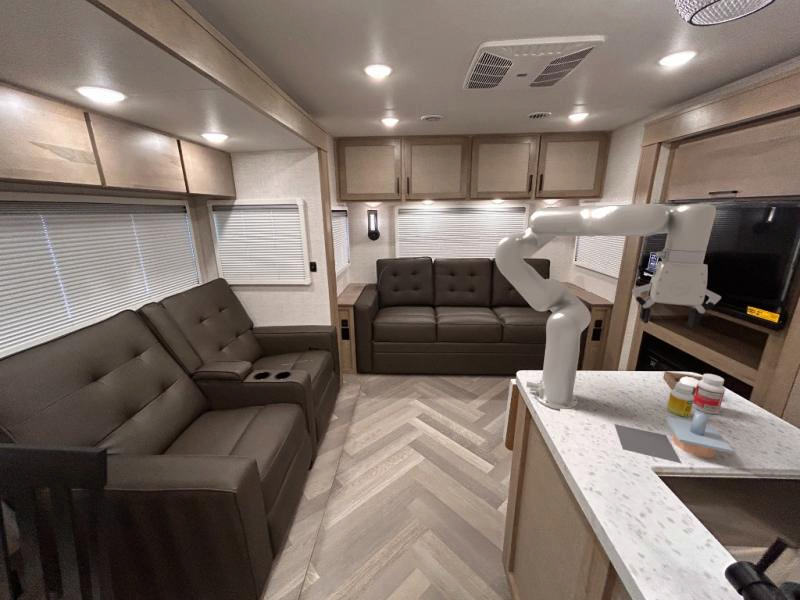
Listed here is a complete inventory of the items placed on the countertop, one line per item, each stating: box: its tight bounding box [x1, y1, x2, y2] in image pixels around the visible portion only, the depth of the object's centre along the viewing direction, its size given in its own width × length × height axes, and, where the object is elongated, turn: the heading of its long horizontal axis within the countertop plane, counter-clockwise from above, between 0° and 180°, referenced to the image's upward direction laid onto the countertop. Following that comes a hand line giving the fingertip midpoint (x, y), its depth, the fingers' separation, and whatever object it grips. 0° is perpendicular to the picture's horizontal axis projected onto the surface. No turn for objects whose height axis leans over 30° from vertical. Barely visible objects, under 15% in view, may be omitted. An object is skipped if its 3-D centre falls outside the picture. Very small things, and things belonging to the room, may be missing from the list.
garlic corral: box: [662, 370, 703, 396], centre depth 109 cm, size 11×11×3 cm
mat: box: [614, 423, 682, 464], centre depth 83 cm, size 12×11×1 cm
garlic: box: [677, 376, 699, 387], centre depth 109 cm, size 8×7×4 cm
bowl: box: [672, 433, 717, 459], centre depth 81 cm, size 8×8×4 cm
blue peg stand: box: [664, 410, 734, 454], centre depth 79 cm, size 10×10×6 cm
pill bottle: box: [692, 373, 726, 415], centre depth 97 cm, size 6×6×11 cm
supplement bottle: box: [666, 383, 694, 418], centre depth 94 cm, size 5×5×10 cm
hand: (667, 324), depth 80 cm, fingers open, 9 cm apart
